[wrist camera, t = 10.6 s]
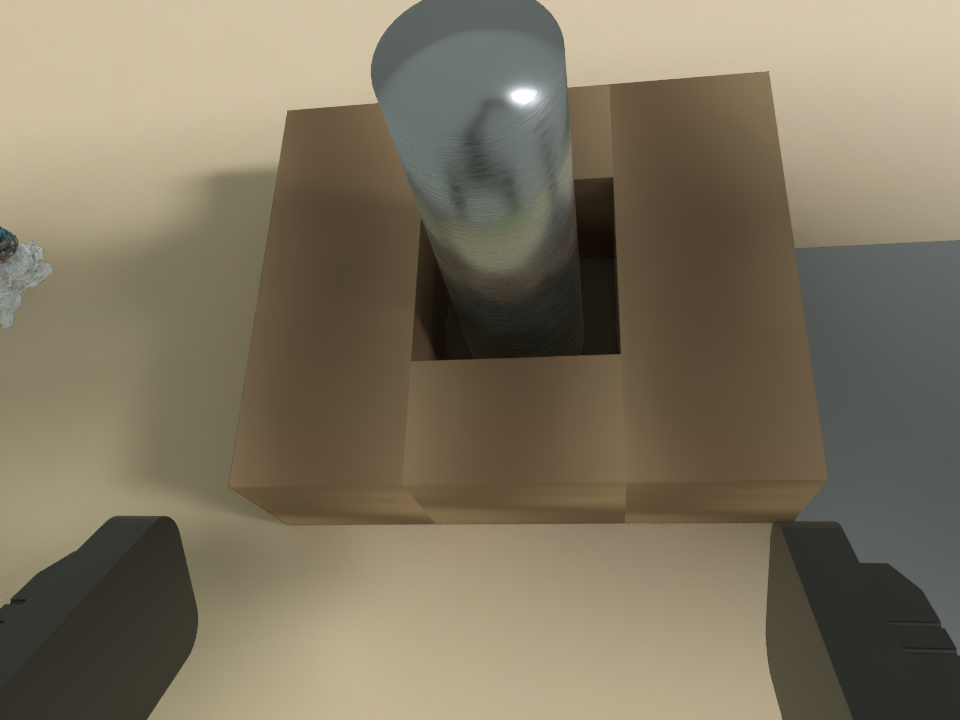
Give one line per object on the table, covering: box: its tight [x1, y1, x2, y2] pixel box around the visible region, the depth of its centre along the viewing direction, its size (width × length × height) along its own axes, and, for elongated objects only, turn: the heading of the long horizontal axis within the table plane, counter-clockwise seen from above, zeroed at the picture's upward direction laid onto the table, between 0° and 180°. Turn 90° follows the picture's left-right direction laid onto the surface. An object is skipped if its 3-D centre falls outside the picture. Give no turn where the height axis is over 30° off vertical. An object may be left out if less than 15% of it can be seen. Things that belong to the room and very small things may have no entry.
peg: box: [371, 0, 584, 359], centre depth 17 cm, size 3×3×10 cm
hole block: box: [228, 71, 828, 525], centre depth 20 cm, size 12×10×4 cm
